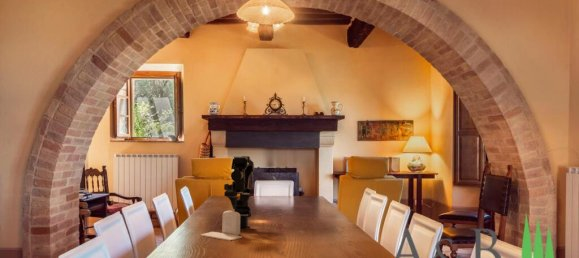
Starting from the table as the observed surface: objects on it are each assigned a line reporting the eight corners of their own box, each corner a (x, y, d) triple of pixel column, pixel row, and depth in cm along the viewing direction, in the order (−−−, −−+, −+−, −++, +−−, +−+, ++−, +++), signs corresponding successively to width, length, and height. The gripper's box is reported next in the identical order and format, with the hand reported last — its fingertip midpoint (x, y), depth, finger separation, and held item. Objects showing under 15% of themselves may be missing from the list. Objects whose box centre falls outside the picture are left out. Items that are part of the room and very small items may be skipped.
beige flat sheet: (212, 232, 240) (212, 231, 240) (242, 237, 229) (242, 236, 229) (200, 235, 232) (200, 234, 232) (230, 240, 222) (230, 239, 222)
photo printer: (241, 234, 237) (241, 211, 237) (236, 235, 233) (236, 212, 233) (225, 232, 242) (226, 209, 242) (220, 233, 238) (221, 210, 238)
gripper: (238, 177, 256) (238, 204, 256) (216, 179, 240) (216, 208, 240) (254, 178, 250) (253, 206, 250) (232, 181, 234) (232, 210, 234)
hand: (239, 208), depth 244 cm, fingers open, 8 cm apart
